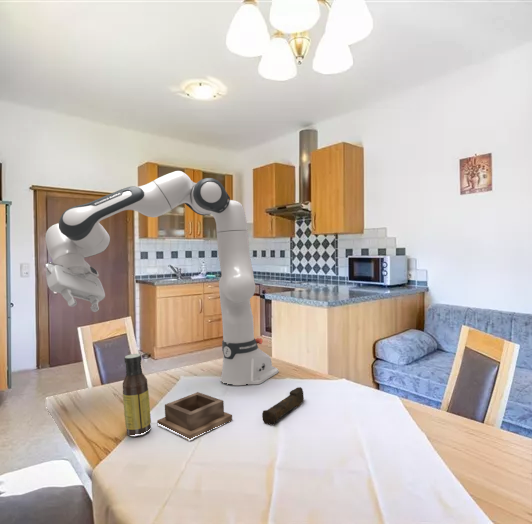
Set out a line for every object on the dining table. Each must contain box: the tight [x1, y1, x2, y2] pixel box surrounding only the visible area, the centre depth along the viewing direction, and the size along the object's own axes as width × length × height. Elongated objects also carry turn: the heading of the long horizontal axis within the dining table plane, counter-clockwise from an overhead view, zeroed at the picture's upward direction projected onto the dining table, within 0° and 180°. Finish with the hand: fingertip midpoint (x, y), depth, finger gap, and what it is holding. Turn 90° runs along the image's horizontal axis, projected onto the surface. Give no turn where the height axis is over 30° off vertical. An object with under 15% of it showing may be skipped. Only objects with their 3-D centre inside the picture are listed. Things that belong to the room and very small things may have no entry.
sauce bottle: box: [122, 353, 152, 436], centre depth 95 cm, size 6×6×20 cm
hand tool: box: [261, 386, 305, 426], centre depth 104 cm, size 19×4×5 cm, turn 143°
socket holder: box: [156, 391, 233, 439], centre depth 99 cm, size 14×14×6 cm
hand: (84, 308), depth 108 cm, fingers open, 8 cm apart
